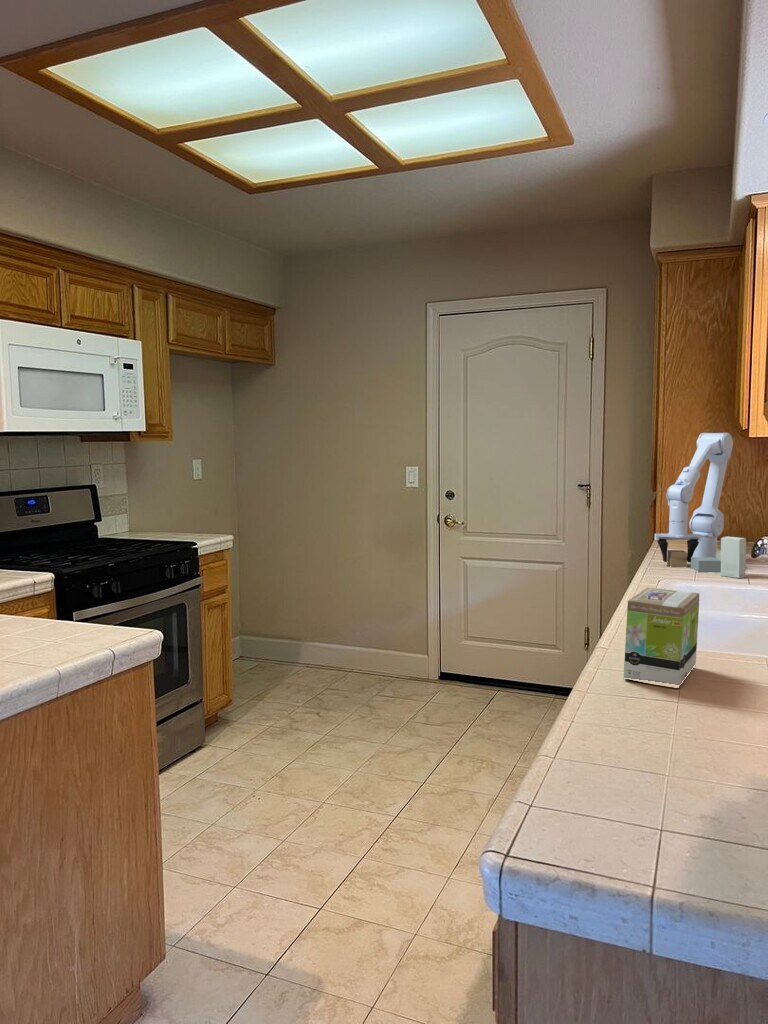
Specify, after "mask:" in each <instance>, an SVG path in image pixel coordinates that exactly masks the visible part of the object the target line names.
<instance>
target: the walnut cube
mask: <svg viewBox="0 0 768 1024" xmlns="http://www.w3.org/2000/svg"><path fill="white" fill-rule="evenodd" d="M687 552H688V551H685V550H683V549H679V550H678V549H677V550H676V549H675V550H673V549H667V562H666V563H667V564H668V565H669V566H668V565H667V564H666V565H667V566H668V567H670V566H671V567H670V568H684V567H688V562H687Z"/></svg>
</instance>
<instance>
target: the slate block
mask: <svg viewBox="0 0 768 1024" xmlns="http://www.w3.org/2000/svg"><path fill="white" fill-rule="evenodd" d="M691 568H692V569H691ZM690 569H691V570H693V569H694V570H693V571H695V570H696V571H695V572H697V571H698V572H697V573H708V572H721V560H718V559H716V558H714V557H691V562H690Z"/></svg>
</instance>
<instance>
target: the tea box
mask: <svg viewBox="0 0 768 1024" xmlns="http://www.w3.org/2000/svg"><path fill="white" fill-rule="evenodd" d="M626 610H627V611H626V612H627V613H626V628H625V630H626V631H625V645H624V663H623V664H624V665H623V679H624V678H631V679H639V680H648V681H655V682H662V683H669V684H675V685H680V684H681V683H682V681H683V680H684V679H685V677H686V676H687V674H688V673H689V672H690V671H691V669H692V668H693V666H694V665H695V664H697V649H698V647H697V646H698V628H699V611H700V593H698V592H691V591H682V590H673V589H665V588H664V589H663V588H657V587H656V588H655V587H646V588H645V589H643V590H641V591H640V592H638V593H637V594H636V595H634V596H633V597H631V598H630V599H628V600H627V608H626ZM695 666H696V665H695Z"/></svg>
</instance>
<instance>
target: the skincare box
mask: <svg viewBox="0 0 768 1024" xmlns="http://www.w3.org/2000/svg"><path fill="white" fill-rule="evenodd" d="M720 552H721V573H720V576H721V577H726V576H727V578H733V579H734V578H736V579H742V578H746V570H747V569H746V568H747V567H746V563H747V562H746V561H747V554H746V552H747V538H746V537H736V536H727V535H726V536H723V537H721V538H720Z"/></svg>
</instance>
